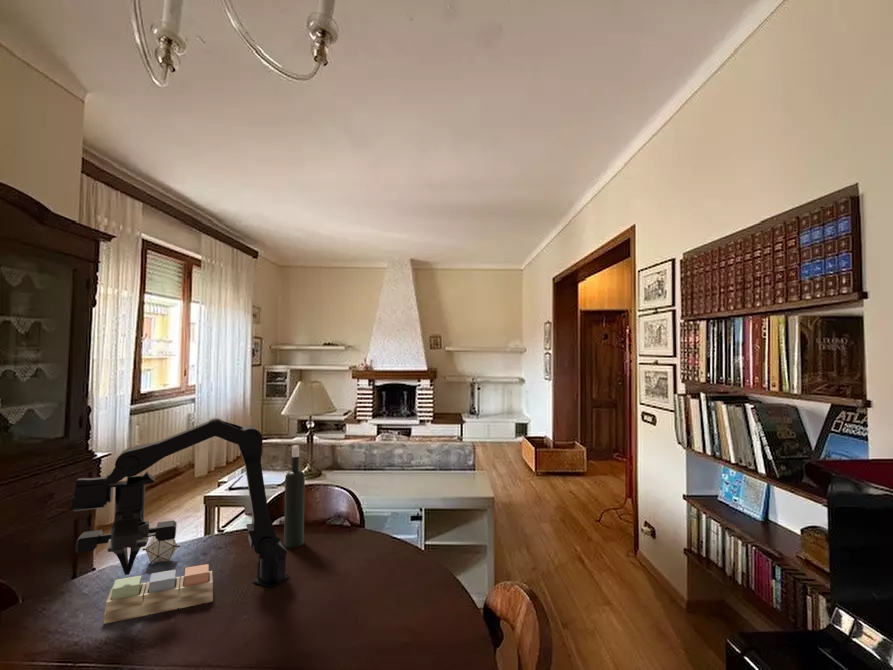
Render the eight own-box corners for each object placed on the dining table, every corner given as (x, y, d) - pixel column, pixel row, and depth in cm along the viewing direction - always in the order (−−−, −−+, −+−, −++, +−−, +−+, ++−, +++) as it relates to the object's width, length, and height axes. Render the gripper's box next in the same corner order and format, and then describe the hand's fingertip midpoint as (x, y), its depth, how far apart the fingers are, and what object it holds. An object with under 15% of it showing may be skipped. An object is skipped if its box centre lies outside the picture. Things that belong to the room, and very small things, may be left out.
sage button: (141, 588, 111) (141, 575, 111) (138, 598, 107) (138, 584, 107) (115, 593, 109) (115, 579, 109) (111, 603, 105) (112, 589, 105)
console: (212, 585, 120) (212, 568, 120) (212, 601, 112) (213, 584, 112) (111, 604, 110) (111, 586, 110) (103, 623, 102) (104, 604, 102)
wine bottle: (284, 541, 148) (286, 444, 150) (304, 540, 150) (305, 443, 151) (283, 548, 143) (285, 447, 144) (303, 547, 144) (304, 446, 145)
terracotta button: (208, 576, 118) (208, 563, 118) (208, 584, 113) (208, 572, 113) (185, 580, 115) (185, 567, 115) (184, 589, 111) (184, 576, 111)
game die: (162, 578, 131) (157, 557, 126) (138, 564, 133) (132, 543, 128) (188, 551, 139) (185, 531, 133) (165, 538, 140) (160, 518, 135)
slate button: (175, 582, 114) (175, 569, 115) (174, 591, 110) (174, 578, 110) (151, 586, 112) (151, 573, 112) (148, 596, 108) (149, 582, 108)
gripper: (70, 521, 97) (66, 599, 97) (174, 508, 106) (172, 580, 105) (82, 506, 107) (79, 577, 107) (177, 495, 116) (175, 561, 115)
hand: (127, 574), depth 108 cm, fingers closed
